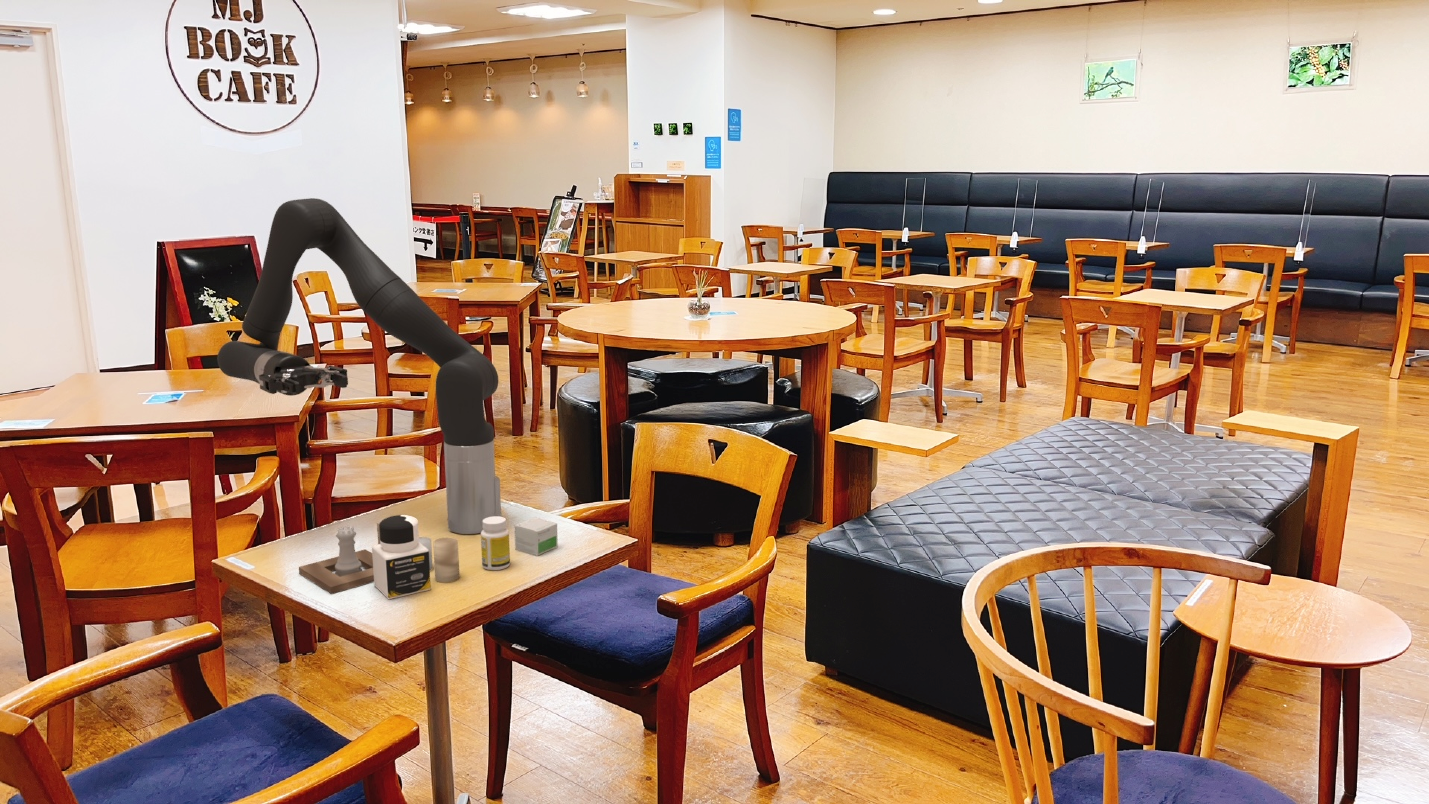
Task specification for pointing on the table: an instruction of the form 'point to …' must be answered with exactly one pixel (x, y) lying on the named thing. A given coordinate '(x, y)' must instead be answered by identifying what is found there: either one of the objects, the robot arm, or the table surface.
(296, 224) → the robot arm
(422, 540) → the short grey peg
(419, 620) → the table surface
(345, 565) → the rook chess piece
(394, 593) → the medicine bottle
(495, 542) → the supplement bottle
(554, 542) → the small box
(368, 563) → the hole board
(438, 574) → the medium beech peg
